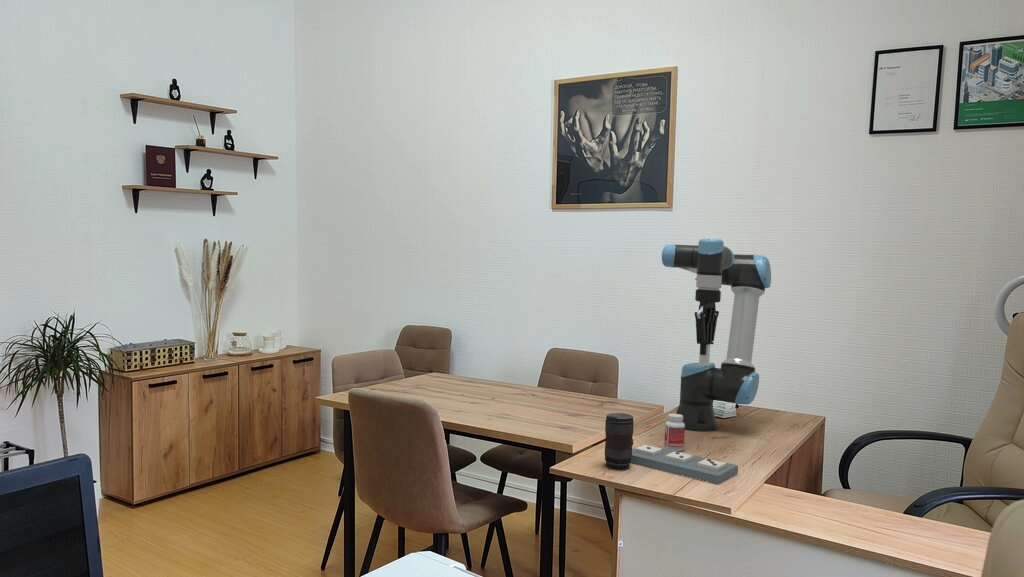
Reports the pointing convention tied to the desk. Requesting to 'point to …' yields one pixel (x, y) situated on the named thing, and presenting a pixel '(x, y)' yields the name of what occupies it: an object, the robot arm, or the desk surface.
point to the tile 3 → (711, 464)
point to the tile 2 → (679, 457)
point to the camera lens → (618, 440)
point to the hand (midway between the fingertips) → (704, 365)
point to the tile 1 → (648, 450)
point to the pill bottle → (674, 433)
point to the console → (684, 466)
